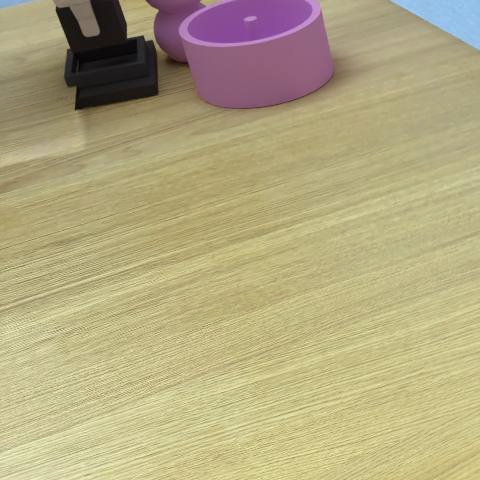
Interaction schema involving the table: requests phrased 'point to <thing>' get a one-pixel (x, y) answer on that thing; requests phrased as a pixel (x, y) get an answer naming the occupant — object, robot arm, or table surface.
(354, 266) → the table surface
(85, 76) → the base pad
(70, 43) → the black rectangular block
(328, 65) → the container set
